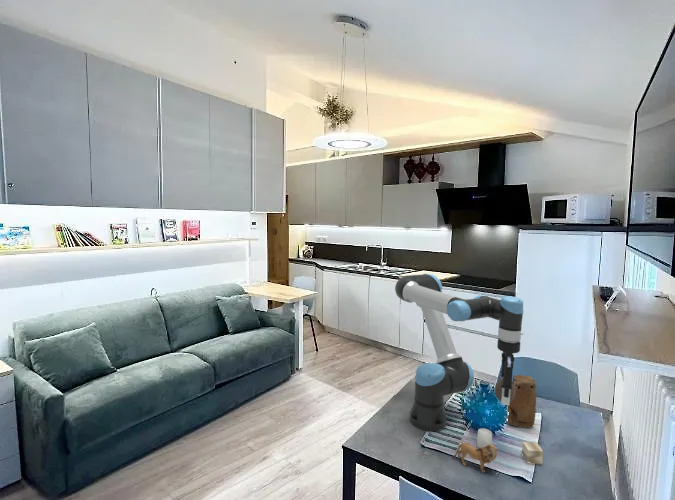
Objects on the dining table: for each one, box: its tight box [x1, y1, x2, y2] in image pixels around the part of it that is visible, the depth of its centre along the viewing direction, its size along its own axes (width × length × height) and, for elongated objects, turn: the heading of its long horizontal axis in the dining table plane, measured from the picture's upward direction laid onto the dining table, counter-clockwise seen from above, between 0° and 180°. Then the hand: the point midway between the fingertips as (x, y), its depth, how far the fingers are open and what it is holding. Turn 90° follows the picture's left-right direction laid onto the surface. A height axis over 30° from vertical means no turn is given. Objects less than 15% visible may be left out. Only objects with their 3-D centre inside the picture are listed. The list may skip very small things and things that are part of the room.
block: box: [507, 374, 537, 428], centre depth 158 cm, size 11×8×20 cm
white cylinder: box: [476, 427, 493, 449], centre depth 142 cm, size 5×5×6 cm
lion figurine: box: [451, 442, 498, 473], centre depth 131 cm, size 15×5×9 cm, turn 65°
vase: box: [494, 376, 515, 402], centre depth 139 cm, size 7×7×9 cm
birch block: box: [521, 441, 544, 465], centre depth 135 cm, size 5×5×5 cm
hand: (504, 399), depth 140 cm, fingers closed on vase, 7 cm apart
